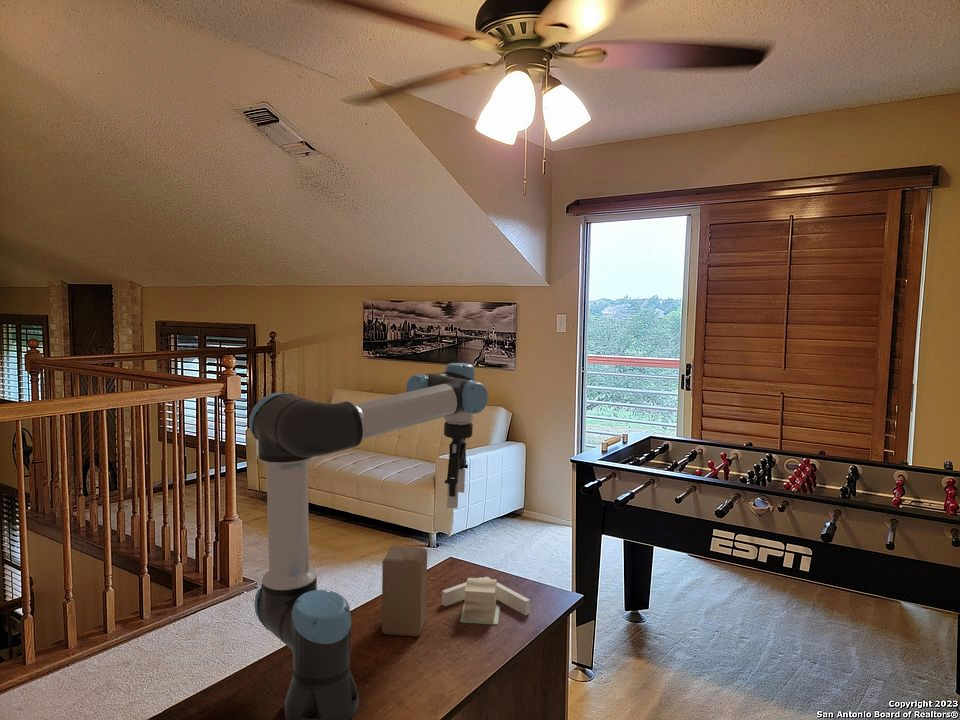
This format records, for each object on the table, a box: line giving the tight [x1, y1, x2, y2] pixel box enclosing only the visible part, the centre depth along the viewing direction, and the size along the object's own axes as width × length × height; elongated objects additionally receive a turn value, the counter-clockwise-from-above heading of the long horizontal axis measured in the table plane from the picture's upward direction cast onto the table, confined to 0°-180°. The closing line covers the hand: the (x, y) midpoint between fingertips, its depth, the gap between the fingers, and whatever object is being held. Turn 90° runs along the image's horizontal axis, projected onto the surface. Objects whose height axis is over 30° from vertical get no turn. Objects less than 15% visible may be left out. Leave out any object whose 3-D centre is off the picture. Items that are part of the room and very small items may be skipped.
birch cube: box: [463, 577, 498, 622], centre depth 180 cm, size 8×8×8 cm
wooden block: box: [381, 545, 428, 637], centre depth 171 cm, size 10×10×20 cm
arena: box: [441, 576, 531, 626], centre depth 182 cm, size 18×19×4 cm
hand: (455, 499), depth 178 cm, fingers open, 13 cm apart
